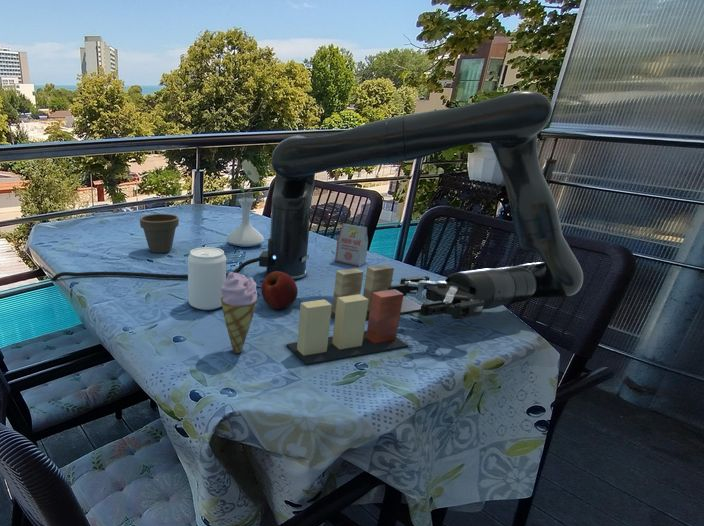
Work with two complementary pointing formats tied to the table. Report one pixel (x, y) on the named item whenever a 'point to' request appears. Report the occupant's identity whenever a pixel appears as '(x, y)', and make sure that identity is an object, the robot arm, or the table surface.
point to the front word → (336, 331)
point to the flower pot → (159, 231)
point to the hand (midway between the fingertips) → (404, 300)
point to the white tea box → (352, 245)
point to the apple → (279, 290)
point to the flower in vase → (246, 215)
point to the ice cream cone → (238, 307)
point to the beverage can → (206, 277)
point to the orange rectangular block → (384, 316)
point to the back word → (368, 286)
